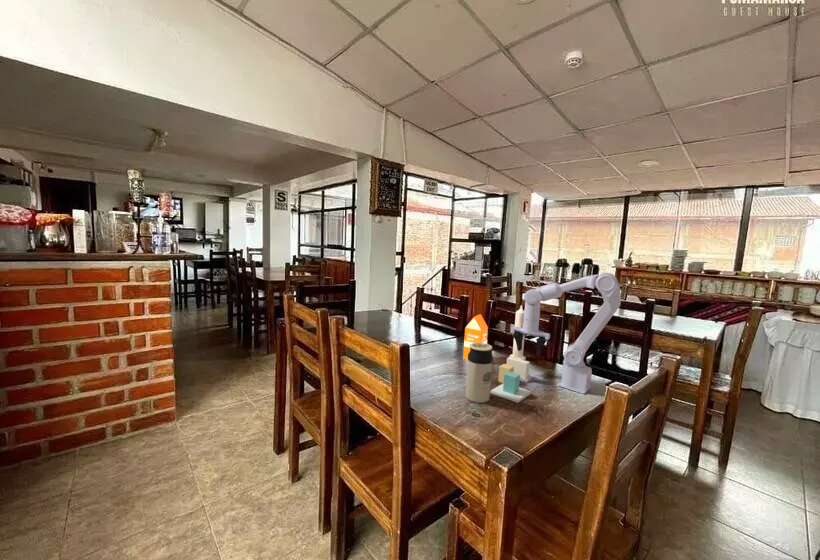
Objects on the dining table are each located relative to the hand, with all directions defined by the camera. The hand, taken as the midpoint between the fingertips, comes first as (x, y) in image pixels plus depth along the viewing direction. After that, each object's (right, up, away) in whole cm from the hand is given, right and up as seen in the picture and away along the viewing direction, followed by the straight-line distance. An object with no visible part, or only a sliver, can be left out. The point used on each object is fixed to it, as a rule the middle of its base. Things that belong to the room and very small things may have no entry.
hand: (528, 352), depth 130 cm
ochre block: (-11, -10, -6) cm, 16 cm away
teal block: (-12, -10, -16) cm, 22 cm away
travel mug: (-25, -11, -20) cm, 34 cm away
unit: (-5, -9, 0) cm, 10 cm away
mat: (-12, -11, -15) cm, 22 cm away
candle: (+3, -8, +22) cm, 23 cm away
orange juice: (-18, -7, +19) cm, 27 cm away
